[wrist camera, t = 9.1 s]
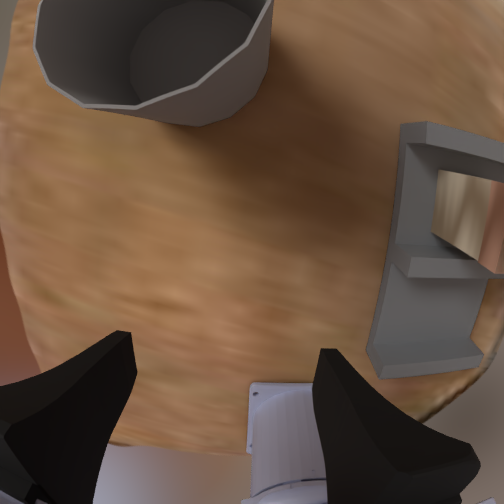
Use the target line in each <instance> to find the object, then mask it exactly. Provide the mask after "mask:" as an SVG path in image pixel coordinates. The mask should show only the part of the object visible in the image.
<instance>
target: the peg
mask: <svg viewBox="0 0 504 504" xmlns="http://www.w3.org/2000/svg"><path fill="white" fill-rule="evenodd" d="M431 232H432V233H434V234H436V235H437V236H439V237H441V238H442V239H444V240H446V241H447V242H449V243H450V244H452V245H454V246H455V247H457V248H458V249H460V250H462V251H463V252H465V253H466V254H468V255H470V256H471V257H473V258H474V259H476V260H477V261H478V263H479V264H481V265H482V266H484V267H485V268H487V269H488V270H490V271H491V272H493V273H494V274H504V183H501V182H497V181H493V180H489V179H485V178H480V177H476V176H471V175H466V174H461V173H456V172H451V171H445V170H440V169H438V180H437V189H436V197H435V205H434V212H433V219H432V226H431Z"/></svg>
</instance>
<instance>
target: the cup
mask: <svg viewBox="0 0 504 504" xmlns="http://www.w3.org/2000/svg"><path fill="white" fill-rule="evenodd" d="M273 4H274V0H41V1H40V3H39V5H38V10H37V16H36V23H35V31H34V39H33V51H34V53H35V56H36V58H37V61H38V63H39V66H40V68H41V71H42V73H43V76H44V78H45V80H46V83H47V85H48V86H50V87H52V88H53V89H55V90H56V91H58V92H59V93H61V94H62V95H64V96H65V97H67V98H68V99H70V100H72V101H73V102H75V103H76V104H78V105H79V106H81V107H82V108H87V109H94V110H101V111H107V112H113V113H119V114H124V115H130V116H135V117H140V118H145V119H150V120H155V121H160V122H165V123H170V124H179V125H188V126H196V127H201V126H204V125H207V124H210V123H214V122H217V121H220V120H224V119H227V118H230V117H231V116H233V115H234V114H235V113H236V112H237V111H238V110H240V109H241V108H242V107H243V106H244V105H246V104H247V103H248V102H249V101H250V100H252V99H253V98H254V97H255V95H256V93H257V91H258V89H259V87H260V85H261V82H262V80H263V78H264V76H265V74H266V72H267V70H268V59H269V48H270V37H271V26H272V15H273Z"/></svg>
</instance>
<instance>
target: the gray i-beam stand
mask: <svg viewBox="0 0 504 504" xmlns="http://www.w3.org/2000/svg"><path fill="white" fill-rule="evenodd" d="M438 169H440V170H445V171H451V172H456V173H461V174H466V175H471V176H476V177H480V178H485V179H489V180H493V181H497V182H501V183H504V143H502V142H499V141H496V140H493V139H489V138H486V137H483V136H480V135H477V134H473V133H470V132H466V131H463V130H459V129H456V128H452V127H448V126H444V125H440V124H436V123H432V122H428V121H426V122H415V123H405V124H401V127H400V145H399V159H398V171H397V181H396V191H395V200H394V208H393V216H392V223H391V230H390V237H389V243H388V249H387V255H386V261H385V266H384V272H383V277H382V282H381V287H380V292H379V297H378V301H377V306H376V310H375V315H374V319H373V323H372V328H371V332H370V336H369V340H368V343H367V347H366V351H367V354H368V356H369V358H370V360H371V363H372V365H373V367H374V369H375V371H376V374H377V376H378V378H379V379H391V378H402V377H412V376H421V375H430V374H437V373H445V372H451V371H458V370H464V369H470V368H476V367H479V365H480V363H481V360H482V358H483V356H484V354H483V353H482V351H481V350H480V349H479V348H478V347H477V346H476V345H475V343H474V342H473V341H472V340H471V339H470V338H469V337H470V334H471V332H472V329H473V326H474V323H475V320H476V317H477V314H478V311H479V308H480V305H481V302H482V299H483V296H484V292H485V289H486V285H487V282H488V279H504V274H494V273H493V272H491V271H490V270H488V269H487V268H485V267H484V266H482V265H481V264H479V263H478V261H477V260H476V259H474V258H473V257H471V256H470V255H468V254H466V253H465V252H463V251H462V250H460V249H458V248H457V247H455V246H454V245H452V244H450V243H449V242H447V241H446V240H444V239H442V238H441V237H439V236H437V235H436V234H434V233H432V232H431V226H432V219H433V212H434V205H435V197H436V189H437V180H438Z"/></svg>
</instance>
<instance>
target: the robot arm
mask: <svg viewBox="0 0 504 504" xmlns="http://www.w3.org/2000/svg"><path fill="white" fill-rule="evenodd" d="M136 376H137V368H136V362H135V356H134V350H133V343H132V336H131V332H125V331H119V330H117V331H115V332H113V333H111V334H110V335H108V336H106V337H105V338H103V339H102V340H100V341H99V342H97V343H96V344H94V345H92V346H91V347H89V348H88V349H86V350H85V351H83V352H81V353H80V354H78V355H76V356H75V357H73V358H71V359H69V360H68V361H66V362H64V363H62V364H61V365H59V366H57V367H55V368H53V369H51V370H48V371H46V372H44V373H41V374H39V375H37V376H34V377H31V378H28V379H25V380H22V381H19V382H16V383H12V384H8V385H4V386H0V504H93V498H94V493H95V488H96V483H97V479H98V475H99V471H100V467H101V463H102V460H103V457H104V453H105V450H106V447H107V444H108V441H109V439H110V436H111V434H112V432H113V430H114V428H115V426H116V423H117V421H118V419H119V417H120V415H121V413H122V411H123V409H124V407H125V405H126V403H127V401H128V399H129V396H130V394H131V391H132V388H133V385H134V382H135V379H136ZM254 392H258V393H254ZM247 453H249V454H252V466H251V467H252V468H251V494H250V499H244V500H242V501H241V504H461V502H462V499H461V497H460V492H462V491H463V489H465V487H466V486H467V485H468V484H469V483H470V482H471V481H472V480H473V479H474V478H475V476H476V475H477V474H478V471H479V469H480V467H481V465H480V461H479V459H478V457H477V455H476V454H475V452H474V450H473V448H472V446H471V445H470V444H469V443H466V442H463V441H460V440H457V439H454V438H452V437H449V436H446V435H444V434H442V433H439V432H437V431H435V430H433V429H431V428H429V427H427V426H425V425H423V424H421V423H420V422H418V421H416V420H415V419H413V418H411V417H410V416H408V415H407V414H405V413H404V412H402V411H401V410H399V409H398V408H397V407H395V406H394V405H393V404H391V403H390V402H389V401H387V400H386V399H385V398H384V397H383V396H382V395H380V394H379V393H378V392H377V391H376V390H375V389H374V388H373V387H372V386H371V385H370V384H369V383H368V382H367V381H366V380H365V379H364V378H363V377H362V376H361V375H360V374H359V373H358V372H357V371H356V370H355V369H354V368H353V367H352V365H351V364H350V363H349V362H348V361H347V360H346V359H345V358H344V356H343V355H342V354H341V353H340V352H339V351H338V350H337V349H324V348H321V350H320V355H319V359H318V364H317V368H316V373H315V377H314V381H313V383H260V382H255V383H252V384H251V385H250V394H249V414H248V433H247ZM477 504H496V502H495V500H494V498H493V497H490V498H488V499H486V500H484V501H481V502H479V503H477Z"/></svg>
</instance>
